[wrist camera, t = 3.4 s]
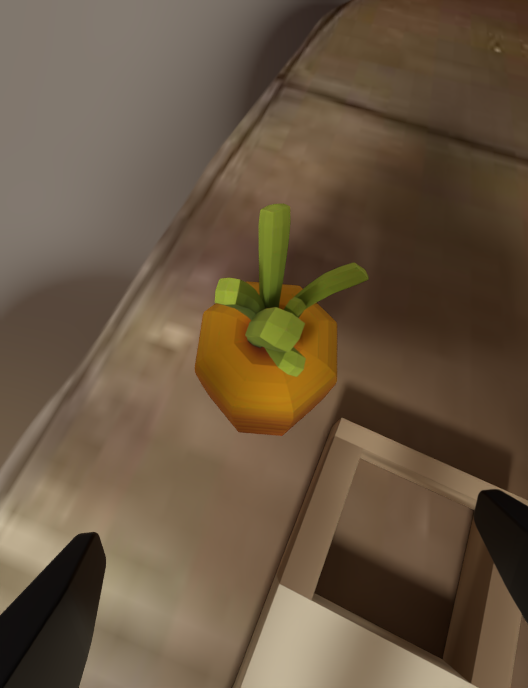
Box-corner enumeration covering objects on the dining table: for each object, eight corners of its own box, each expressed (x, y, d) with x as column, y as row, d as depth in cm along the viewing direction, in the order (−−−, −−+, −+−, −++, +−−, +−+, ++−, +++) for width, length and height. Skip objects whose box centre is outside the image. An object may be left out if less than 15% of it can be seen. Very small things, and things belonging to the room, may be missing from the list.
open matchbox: (505, 504, 20) (538, 505, 18) (415, 989, 14) (448, 1088, 11) (332, 426, 22) (341, 417, 19) (176, 834, 15) (162, 895, 13)
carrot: (243, 358, 23) (229, 146, 9) (318, 395, 22) (425, 223, 8) (202, 431, 21) (106, 306, 7) (281, 474, 20) (340, 423, 7)
